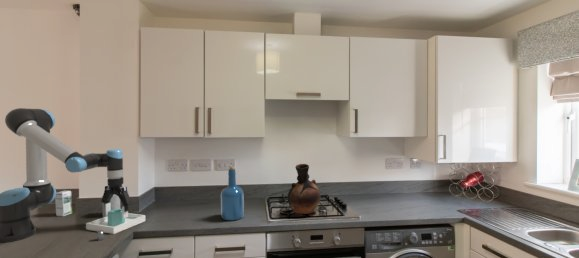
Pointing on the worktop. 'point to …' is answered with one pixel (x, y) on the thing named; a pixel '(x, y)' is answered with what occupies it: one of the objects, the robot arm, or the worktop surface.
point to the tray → (103, 225)
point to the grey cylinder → (112, 204)
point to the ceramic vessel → (303, 192)
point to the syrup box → (63, 203)
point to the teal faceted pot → (115, 217)
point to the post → (100, 235)
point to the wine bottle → (232, 199)
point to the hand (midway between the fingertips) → (116, 216)
